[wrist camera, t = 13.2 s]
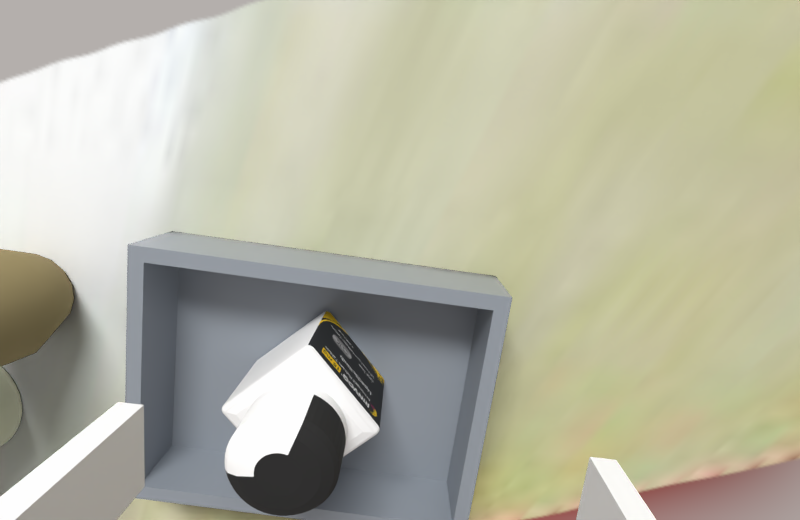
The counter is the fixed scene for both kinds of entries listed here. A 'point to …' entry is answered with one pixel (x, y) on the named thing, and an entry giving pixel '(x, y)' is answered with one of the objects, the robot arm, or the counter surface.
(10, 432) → the can
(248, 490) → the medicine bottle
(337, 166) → the counter surface
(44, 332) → the squeeze bottle
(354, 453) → the grey box
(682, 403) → the counter surface
